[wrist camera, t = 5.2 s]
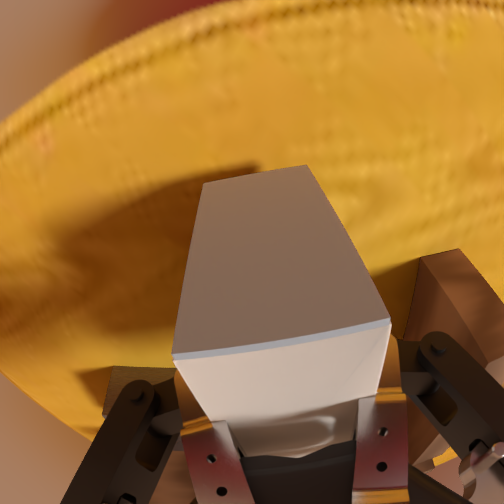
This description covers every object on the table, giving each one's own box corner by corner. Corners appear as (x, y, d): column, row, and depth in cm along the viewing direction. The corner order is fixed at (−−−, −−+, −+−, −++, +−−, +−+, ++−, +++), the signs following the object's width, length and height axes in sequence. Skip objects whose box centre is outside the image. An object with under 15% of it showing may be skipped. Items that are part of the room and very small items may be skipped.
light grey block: (308, 164, 12) (393, 316, 5) (320, 325, 17) (354, 463, 10) (202, 183, 12) (168, 353, 6) (245, 338, 17) (253, 479, 11)
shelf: (459, 248, 17) (539, 357, 10) (412, 389, 27) (440, 467, 19) (49, 318, 18) (3, 432, 11) (146, 430, 28) (138, 509, 21)
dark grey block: (205, 365, 22) (203, 421, 18) (213, 405, 25) (213, 451, 22) (113, 363, 22) (101, 414, 18) (135, 402, 25) (128, 447, 21)
